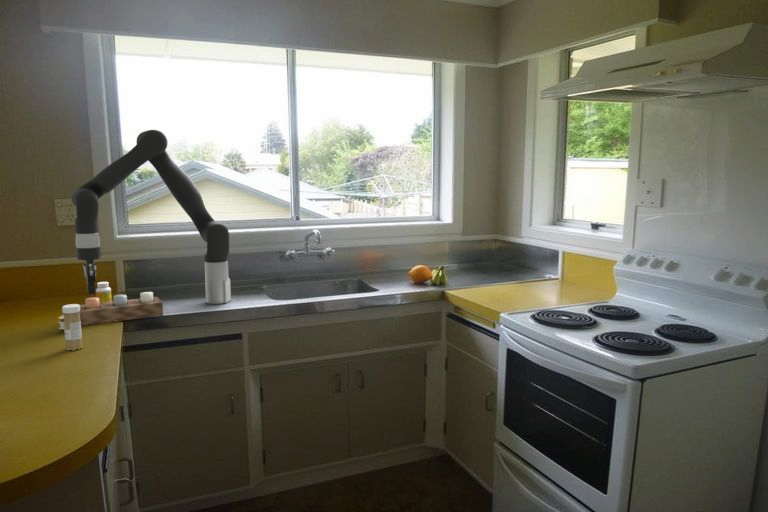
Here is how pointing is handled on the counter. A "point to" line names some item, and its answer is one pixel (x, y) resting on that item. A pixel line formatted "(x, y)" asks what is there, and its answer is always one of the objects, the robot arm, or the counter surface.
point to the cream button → (146, 297)
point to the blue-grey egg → (120, 300)
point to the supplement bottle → (103, 292)
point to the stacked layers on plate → (61, 322)
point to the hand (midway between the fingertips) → (91, 293)
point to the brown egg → (92, 303)
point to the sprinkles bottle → (72, 326)
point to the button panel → (121, 311)
